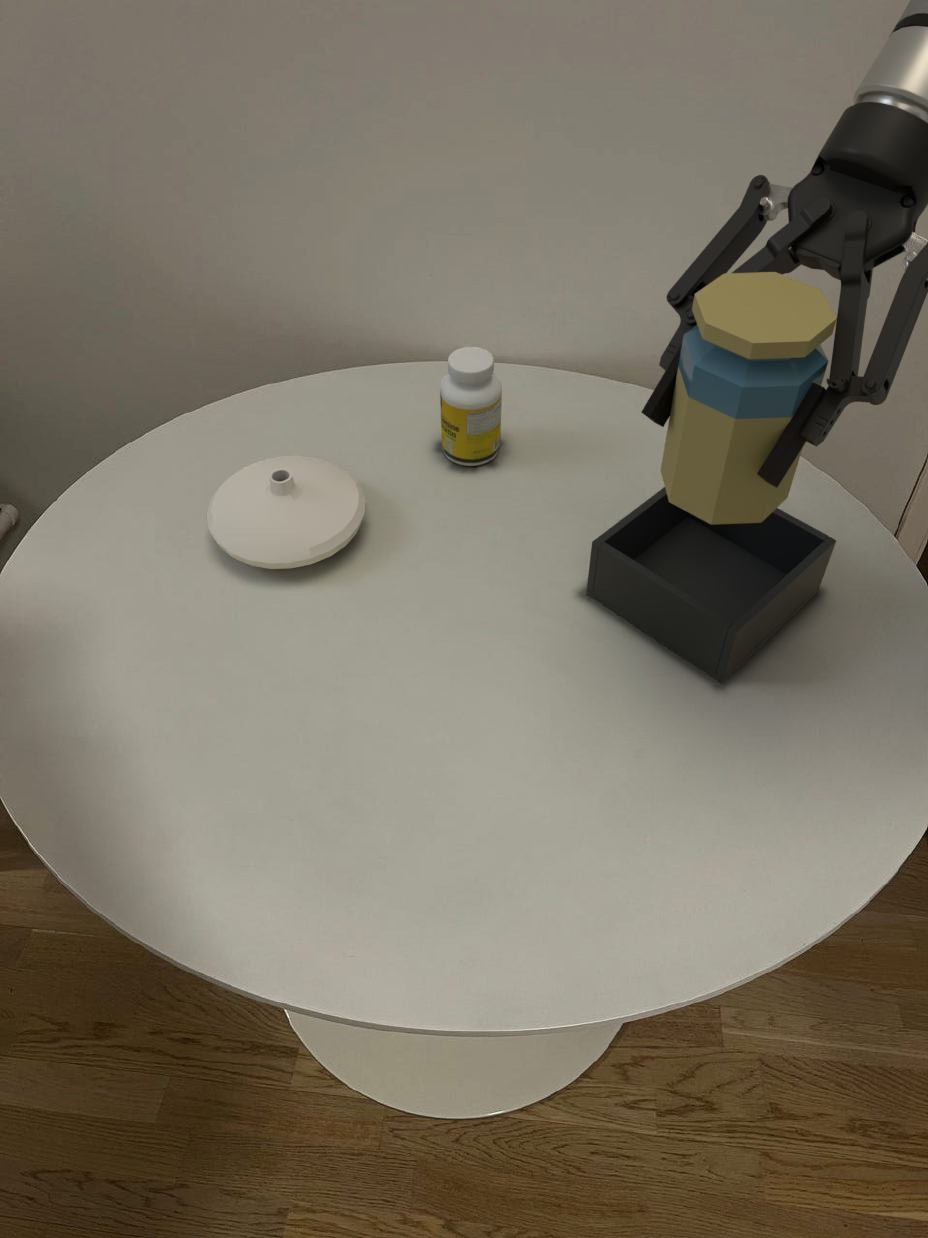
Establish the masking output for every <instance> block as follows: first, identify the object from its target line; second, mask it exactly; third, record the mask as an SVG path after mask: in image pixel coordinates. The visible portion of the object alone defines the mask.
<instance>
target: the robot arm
mask: <svg viewBox="0 0 928 1238" xmlns="http://www.w3.org/2000/svg"><path fill="white" fill-rule="evenodd" d="M852 101H853V102H852V103H853V105H850V106H848V107H847V108H846V109H844V111H843V112H842V114H841V116H840V118H839V119H838V121H837V123H836V124H835V126H834V128H833V129H832V131H831V133H830V134H829V136H828V137H827V139H826V141H825V142H824V144H823V146H822V147H821V149H820V151H819V153H818V154H817V157H816V159H815V161H814V163H813V165H812V167H811V170H810V171H809V173H807V175H806V176H805V177H804V178H803V179H801V180H800V181H799V182H797V183H796V184H795V185H794V186H793V187H789V186H784V185H780V184H775V183H770V180H769V179H768V177H767V176H766V175H764V174H758V175H756V176H754V177H753V178H752V179H751V181H750V182H749V185H748V187H747V188H746V191H745V194H744V196H743V198H742V201H741V202H740V205H739V207H738V208H737V209H736V210H735V212H734V213H733V214H732V215H731V216H730V217H729V219H728V220H727V221H726V222H725V223H724V225H723V226H721V228H720V229H719V231H718V232H717V233H716V234H715V235H714V237H713V238H712V239H711V240H710V241H709V242H708V244H707V245H706V246H705V247H704V249H703V250H702V251H701V252H700V253H699V255H698V256H697V257H696V258H695V259H694V261H693V262H692V263H691V264H690V265H689V266H688V268H687V269H686V270H685V271H684V272H683V274H682V275H681V276H680V277H679V278H678V280H677V281H676V282H675V283H674V284H673V286H672V287H671V288H670V289H669V290H668V292H667V293H666V302H667V303H668V304H669V305H670V306H671V308H672V309H673V310H674V311H675V312H676V314H678V316H679V318H680V322H679V325H678V327H677V329H676V330H675V332H674V334H673V335H672V337H671V339H670V341H669V343H668V344H667V345H666V348H665V350H664V351H663V353H662V354H661V356H660V359H659V364H658V365H659V367H661V368H662V370H664V373H663V374H662V376H661V378H660V379H659V380H658V383H657V384H656V386H655V388H654V390H653V391H652V393H651V395H650V396H649V398H648V399H647V401H646V403H645V405H644V406H643V408H642V410H641V412H640V413H641V414H642V415H644V416H645V417H646V418H648V419H649V420H650V421H651V422H653V423H654V424H656V425H658V426H659V427H662V428H664V427H665V426H666V423H667V422H668V421H669V418H670V412H671V406H672V401H673V395H674V389H675V383H676V377H677V371H678V365H679V360H680V354H681V348H682V342H683V336H684V334H685V333H687V332H688V331H689V330H691V329H692V328H694V327H695V326H696V325H697V322H696V319H695V317H694V314H693V311H692V307H693V301H694V295H695V293H697V292H698V291H700V290H701V289H703V288H704V287H705V286H707V285H708V284H710V283H711V282H713V281H714V280H715V279H717V278H718V277H720V276H721V275H723V274H726V273H728V272H729V271H730V269H731V268H732V267H733V266H734V265H735V264H736V263H737V261H739V259H740V258H741V257H742V256H743V254H744V253H745V252H746V251H747V250H748V249H749V247H750V246H751V245H752V244H753V243H754V241H756V239H758V237H759V235H760V234H761V233H762V231H763V230H764V228H766V225H767V223H768V222H769V221H770V222H773V221H775V220H776V219H777V217H778V215H779V213H780V212H782V211H783V210H787V216H788V217H787V218H788V222H787V224H785V225H784V226H782V227H781V228H780V229H779V230H778V231H776V232H775V233H774V234H772V235H771V236H770V237H769V238H768V239H767V241H766V244H765V245H764V247H762V248H761V249H760V250H759V251H757V252H755V254H753V255H752V256H751V257H749V258H748V259H747V260H746V261H744V262H743V263H742V264H741V265H739V266H738V267H737V268H736V269H734V270H733V271H731V273H756V272H777V273H779V274H782V275H786V274H790V273H792V272H794V271H795V270H796V269H797V268H799V267H800V266H803V267H807V268H808V269H810V270H818V271H825V272H826V273H827V274H828V275H829V276H831V277H832V278H833V279H836V280H838V281H840V290H839V291H840V292H839V299H838V306H837V314H836V318H837V320H836V323H835V328H834V329H835V330H834V338H833V346H832V353H831V360H830V361H831V362H830V369H829V376H828V377H829V378H826V384H827V385H828V386H827V388H825V386H822V385H821V386H820V385H818V384H816V383H813V385H812V386H811V388H810V389H809V391H808V393H807V394H806V396H805V397H804V399H803V401H802V402H801V404H800V405H799V407H798V409H797V410H796V412H795V414H794V416H793V417H792V419H791V421H790V422H789V423H788V425H787V426H786V428H785V429H784V431H783V433H782V434H781V436H780V437H779V439H778V441H777V442H776V444H775V446H774V447H773V449H772V450H771V452H770V454H769V455H768V457H767V458H766V460H765V462H764V463H763V465H762V466H761V468H760V470H759V471H758V473H757V474H758V475H759V476H760V477H761V478H762V479H764V480H765V481H766V482H767V483H769V484H771V485H773V486H774V487H776V488H777V487H778V486H779V484H780V483H781V481H782V479H783V478H784V476H785V475H786V473H787V471H788V470H789V468H790V467H791V465H792V463H793V462H794V460H795V459H796V457H797V456H798V454H799V452H800V451H801V449H802V450H803V448H804V446H805V445H806V443H808V444H810V445H813V446H814V447H818V446H819V445H821V444H822V443H823V442H825V440H826V438H827V437H828V435H829V433H830V432H831V430H832V429H833V427H834V425H835V424H836V423H837V421H838V419H839V418H840V416H841V415H842V413H843V411H844V410H845V408H846V407H848V405H850V404H852V403H869V404H870V405H872V406H879V405H882V404H883V403H884V402H885V401H886V400H887V398H888V395H889V393H890V391H891V387H892V385H893V383H894V380H895V377H896V375H897V372H898V370H899V367H900V365H901V362H902V360H903V357H904V355H905V352H906V350H907V347H908V344H909V342H910V339H911V336H912V335H913V331H914V329H915V326H916V324H917V321H918V318H919V317H920V313H921V311H922V308H923V305H924V303H925V301H926V298H927V296H928V239H927V238H925V237H924V236H922V235H920V234H918V233H916V229H917V223H918V220H919V219H920V217H921V215H922V214H923V213H924V211H925V210H926V208H927V207H928V0H909V2H908V3H907V5H906V7H905V9H904V11H903V12H902V14H901V16H900V18H899V19H898V21H897V23H896V25H895V26H894V28H893V29H892V31H891V32H890V34H889V36H888V39H887V40H886V41H885V43H884V45H883V47H882V48H881V50H880V51H879V53H878V54H877V56H876V58H875V59H874V61H873V63H872V64H871V65H870V68H869V69H868V71H867V72H866V74H865V75H864V76H863V78H862V80H861V82H860V83H859V85H858V87H857V88H856V90H855V92H854V93H853V97H852ZM903 253H905V256H904V258H903V260H902V267H903V270H904V273H903V274H902V276H901V279H900V281H899V283H898V286H897V289H896V291H895V294H894V296H893V298H892V302H891V304H890V307H889V310H888V312H887V315H886V317H885V320H884V323H883V325H882V327H881V330H880V333H879V335H878V338H877V339H876V342H875V346H874V348H873V351H872V353H871V356H870V358H869V361H868V364H867V366H866V369H865V371H864V374H863V375H862V376H861V375H859V370H860V363H861V362H860V361H861V354H862V345H863V338H864V331H865V322H866V314H867V308H868V307H867V306H868V300H869V298H870V296H871V287H872V281H873V272H874V269H875V268H877V267H879V266H881V265H882V264H884V263H886V262H887V261H890V260H891V259H893V258H896V257H897V256H899V255H901V254H903ZM801 452H802V451H801Z"/></svg>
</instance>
